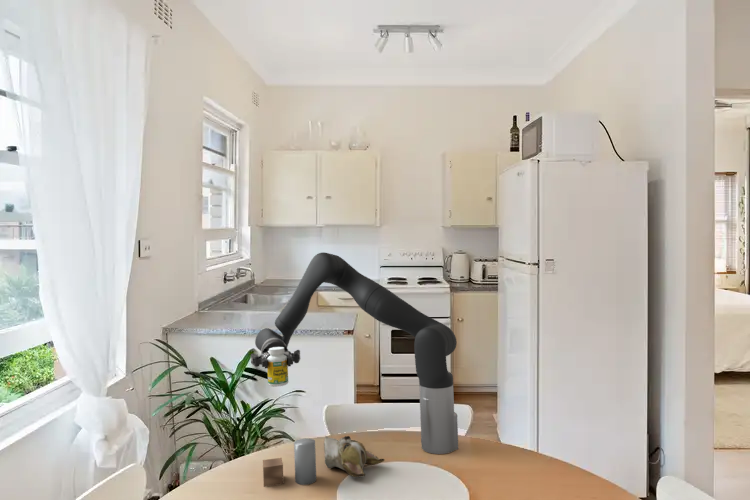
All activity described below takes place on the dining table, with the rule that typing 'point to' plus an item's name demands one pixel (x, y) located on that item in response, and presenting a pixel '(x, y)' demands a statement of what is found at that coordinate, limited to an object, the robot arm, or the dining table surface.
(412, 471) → the dining table surface
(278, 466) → the walnut block
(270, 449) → the dining table surface
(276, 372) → the supplement bottle
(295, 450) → the light grey cylinder
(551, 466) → the dining table surface
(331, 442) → the ceramic sculpture
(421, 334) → the robot arm
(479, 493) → the dining table surface
